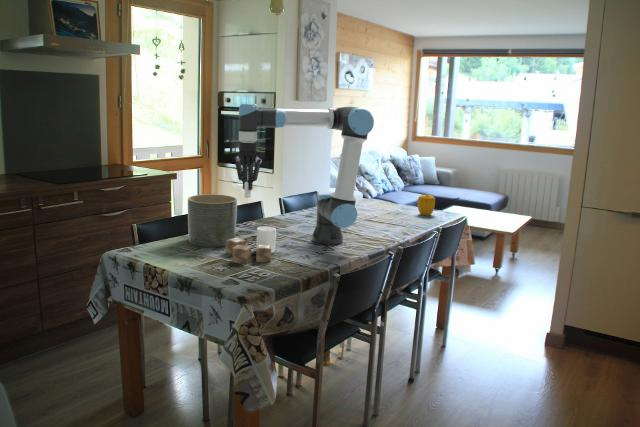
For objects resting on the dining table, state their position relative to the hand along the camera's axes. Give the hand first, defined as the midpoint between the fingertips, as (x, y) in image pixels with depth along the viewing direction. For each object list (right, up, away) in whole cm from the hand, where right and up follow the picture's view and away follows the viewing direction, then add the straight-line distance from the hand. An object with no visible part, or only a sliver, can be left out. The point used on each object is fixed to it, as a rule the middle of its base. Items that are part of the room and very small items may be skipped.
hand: (247, 197), depth 233 cm
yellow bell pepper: (+96, -8, +107) cm, 144 cm away
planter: (-19, -20, +22) cm, 35 cm away
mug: (+8, -24, +12) cm, 27 cm away
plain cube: (-2, -27, -6) cm, 27 cm away
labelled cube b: (+7, -26, -3) cm, 28 cm away
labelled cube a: (-6, -24, +5) cm, 25 cm away
